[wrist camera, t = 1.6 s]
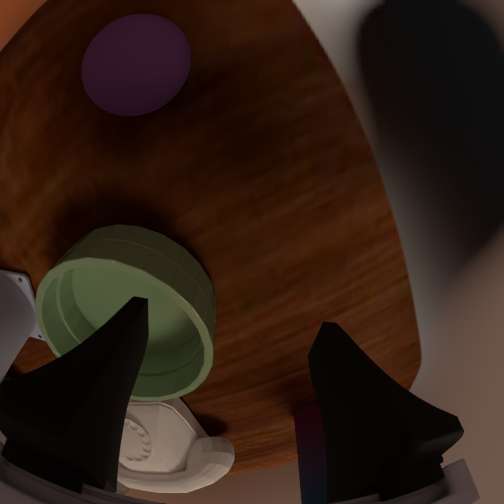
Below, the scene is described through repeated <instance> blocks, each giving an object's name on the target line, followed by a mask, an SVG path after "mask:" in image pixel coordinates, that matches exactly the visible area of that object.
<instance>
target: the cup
mask: <svg viewBox="0 0 504 504" xmlns="http://www.w3.org/2000/svg"><path fill="white" fill-rule="evenodd" d="M294 422H295V432H296V443H297V454H298V465H299V476H300V489H301V502H302V504H326V499H327V460H326V448H325V438H324V430H323V423H322V418H321V414H320V410H319V407H318V403H317V402H314V403H310V404H307V405H305V406H303V407H301V408H299V409H298V410H297V411H296V412H295V414H294Z"/></svg>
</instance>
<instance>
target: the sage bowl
mask: <svg viewBox="0 0 504 504" xmlns="http://www.w3.org/2000/svg"><path fill="white" fill-rule="evenodd" d="M133 296H136V297H141V298H147V299H148V325H149V337H148V342H147V346H146V351H145V355H144V359H143V362H142V364H141V367H140V370H139V373H138V376H137V379H136V382H135V385H134V388H133V391H132V394H131V397H130V399H133V400H139V401H163V400H168V399H173V398H178V397H180V396H183V395H185V394H187V393H189V392H191V391H193V390H194V389H196V388H197V387H198V386H199V385H200V384H201V383H202V382H203V381H204V380H205V379H206V377H207V375H208V373H209V371H210V369H211V367H212V364H213V351H214V335H215V320H216V305H217V304H216V298H215V294H214V290H213V286H212V284H211V281H210V280H209V278H208V276H207V275H206V273H205V271H204V269H203V268H202V266H201V265H200V263H199V262H198V261H197V260H196V259H195V258H194V257H193V256H192V255H191V254H190V253H189V252H188V251H187V250H186V249H185V248H183V247H182V246H181V245H179V244H178V243H176V242H174V241H173V240H171V239H170V238H168V237H166V236H165V235H163V234H161V233H158V232H155V231H152V230H149V229H146V228H143V227H140V226H133V225H119V224H116V225H111V226H107V227H102V228H98V229H95V230H93V231H91V232H90V233H88V234H86V235H85V236H83V237H81V238H80V239H79V240H78V241H77V242H76V243H75V244H74V245H73V246H72V247H71V248H70V249H69V250H68V251H67V252H66V253H65V254H64V255H63V256H62V257H61V258H60V259H59V260H58V261H57V262H56V264H55V265H54V266H53V267H52V268H51V269H50V270H49V271H48V272H47V274H46V275H45V277H44V278H43V280H42V281H41V282H40V284H39V286H38V290H37V295H36V300H35V309H36V318H37V322H38V325H39V327H40V330H41V333H42V335H43V337H44V339H45V341H46V342H47V344H48V345H49V347H50V348H51V350H52V351H53V353H54V354H55V355H56V356H57V357H58V358H59V357H61V356H62V355H64V354H66V353H67V352H69V351H70V350H72V349H73V348H75V347H76V346H78V345H79V344H80V343H82V342H83V341H84V340H86V339H87V338H88V337H89V336H91V335H92V334H93V333H94V332H95V331H97V330H98V329H99V328H100V327H101V326H102V325H104V324H105V323H106V322H107V321H108V320H109V319H110V318H111V317H112V316H113V315H114V314H115V313H117V312H118V311H119V310H120V309H121V308H122V307H123V306H124V305H125V304H126V303H127V302H128V301H129V300H130V299H131V298H132V297H133Z"/></svg>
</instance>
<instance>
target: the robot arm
mask: <svg viewBox="0 0 504 504" xmlns="http://www.w3.org/2000/svg"><path fill="white" fill-rule="evenodd" d="M29 336H30V337H34V338H37V339H41V340H45V339H44V337H43V335H42V333H41V330H40V327H39V325H38V322H37V318H36V309H35V296H34V293H33V290H32V286H31V283H30V279H29V277H28V276H27V275H26V274H22V273H16V272H11V271H5V270H0V432H2V433H3V435H4V436H5V437H6V438H7V440H6V442H5V445H4V444H3V443H2V442H1V441H0V504H164V503H158V502H152V501H147V500H142V499H137V498H133V497H129V496H124V495H120V494H117V493H116V492H117V476H118V464H119V455H120V447H121V440H122V434H123V428H124V422H125V417H126V412H127V407H128V403H129V400H130V397H131V394H132V391H133V388H134V385H135V382H136V379H137V376H138V373H139V370H140V367H141V364H142V362H143V359H144V355H145V351H146V346H147V342H148V337H149V325H148V299H147V298H141V297H136V296H133V297H132V298H131V299H130V300H129V301H128V302H127V303H126V304H125V305H124V306H123V307H122V308H121V309H120V310H119V311H118V312H117V313H115V314H114V315H113V316H112V317H111V318H110V319H109V320H108V321H107V322H106V323H105V324H104V325H102V326H101V327H100V328H99V329H98V330H97V331H95V332H94V333H93V334H92V335H91V336H89V337H88V338H87V339H86V340H84V341H83V342H82V343H80V344H79V345H78V346H76V347H75V348H73V349H72V350H70V351H69V352H67V353H66V354H64V355H62V356H61V357H59V358H57V359H55V360H53V361H52V362H50V363H48V364H46V365H44V366H42V367H40V368H38V369H35V370H33V371H31V372H28V373H26V374H23V375H20V376H17V377H14V378H11V379H8V380H5V381H2V380H3V378H4V376H5V375H6V373H7V371H8V369H9V368H10V366H11V364H12V363H13V361H14V359H15V358H16V356H17V354H18V353H19V351H20V350H21V348H22V347H23V345H24V343H25V342H26V340H27V339H28V337H29ZM308 359H309V368H310V376H311V380H312V384H313V388H314V391H315V395H316V399H317V403H318V407H319V410H320V414H321V418H322V423H323V430H324V438H325V448H326V460H327V499H326V504H473V503H475V502H476V501H478V500H479V499H480V497H479V494H478V491H477V489H476V486H475V484H474V481H473V479H472V476H471V474H470V471H469V469H468V467H467V464H466V462H465V460H464V459H461V460H458V461H456V462H454V463H452V464H450V465H447V466H445V467H444V468H441V465H440V463H442V462H443V457H442V454H443V453H444V452H446V451H447V450H448V449H449V448H451V447H452V446H453V445H454V444H455V443H456V442H457V441H458V440H459V439H460V438H461V437H462V436H463V433H464V430H463V428H462V426H461V424H460V421H459V419H458V417H457V416H455V415H453V414H450V413H448V412H445V411H443V410H441V409H439V408H436V407H435V406H432V405H430V404H429V403H427V402H425V401H423V400H422V399H420V398H418V397H417V396H415V395H413V394H412V393H411V392H409V391H408V390H406V389H405V388H403V387H402V386H401V385H399V384H398V383H397V382H396V381H394V380H393V379H392V378H391V377H389V376H388V375H387V374H386V373H385V372H384V371H383V370H382V369H380V368H379V367H378V366H377V365H376V364H375V363H374V362H373V361H372V360H371V359H370V358H369V357H368V356H367V355H366V354H365V353H364V352H363V351H362V350H361V349H360V348H359V346H358V345H357V344H356V343H355V342H354V341H353V340H352V339H351V338H350V337H349V336H348V335H347V333H346V332H345V331H344V330H343V329H342V328H341V327H340V326H339V325H338V324H337V323H333V322H323V323H322V325H321V328H320V330H319V332H318V335H317V337H316V339H315V341H314V343H313V346H312V348H311V350H310V352H309V354H308Z"/></svg>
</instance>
